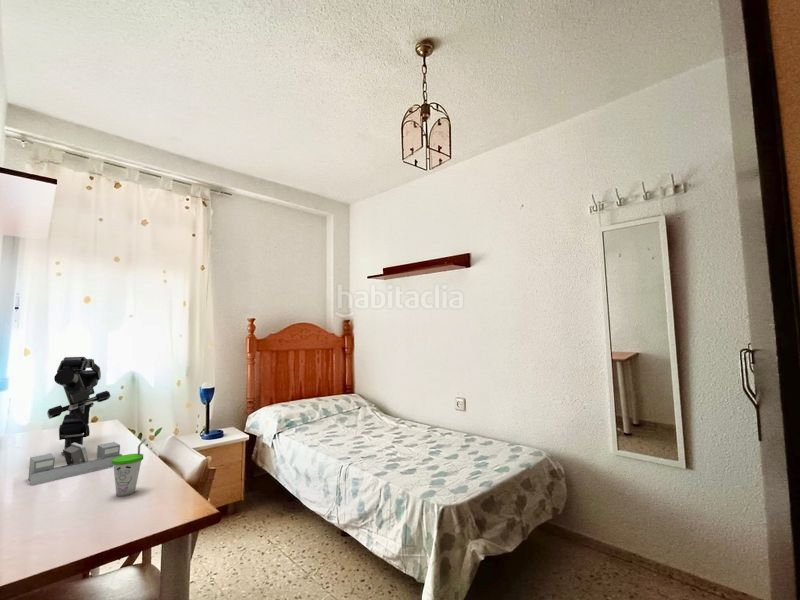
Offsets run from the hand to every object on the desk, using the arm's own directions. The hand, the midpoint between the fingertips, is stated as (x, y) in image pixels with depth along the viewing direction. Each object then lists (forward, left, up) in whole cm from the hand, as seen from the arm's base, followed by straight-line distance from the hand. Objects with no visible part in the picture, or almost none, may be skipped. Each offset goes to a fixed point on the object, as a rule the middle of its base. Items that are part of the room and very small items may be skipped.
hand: (87, 424), depth 145 cm
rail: (+19, -5, -13) cm, 24 cm away
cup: (+53, -1, -13) cm, 54 cm away
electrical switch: (+14, -5, -14) cm, 20 cm away
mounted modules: (+15, -5, -13) cm, 21 cm away
